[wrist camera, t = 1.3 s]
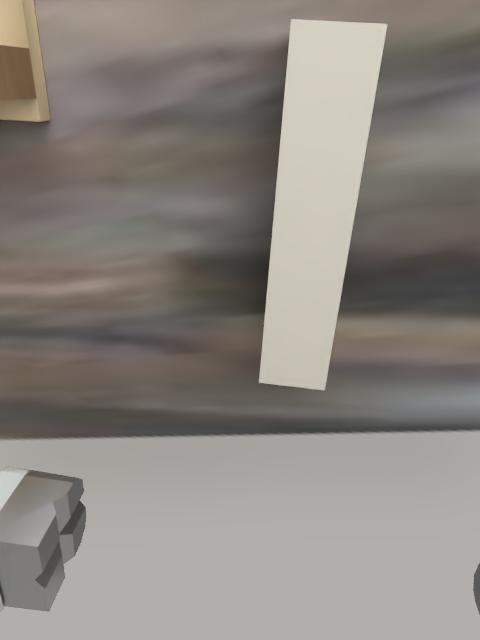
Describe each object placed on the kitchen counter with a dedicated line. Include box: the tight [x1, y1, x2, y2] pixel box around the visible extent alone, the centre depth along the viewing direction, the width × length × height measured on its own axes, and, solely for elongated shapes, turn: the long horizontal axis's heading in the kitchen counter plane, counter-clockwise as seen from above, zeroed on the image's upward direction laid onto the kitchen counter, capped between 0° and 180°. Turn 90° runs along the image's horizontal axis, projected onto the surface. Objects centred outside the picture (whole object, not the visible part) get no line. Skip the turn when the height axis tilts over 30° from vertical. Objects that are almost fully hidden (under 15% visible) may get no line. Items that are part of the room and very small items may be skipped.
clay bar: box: [259, 19, 387, 390], centre depth 21 cm, size 15×3×5 cm, turn 177°
